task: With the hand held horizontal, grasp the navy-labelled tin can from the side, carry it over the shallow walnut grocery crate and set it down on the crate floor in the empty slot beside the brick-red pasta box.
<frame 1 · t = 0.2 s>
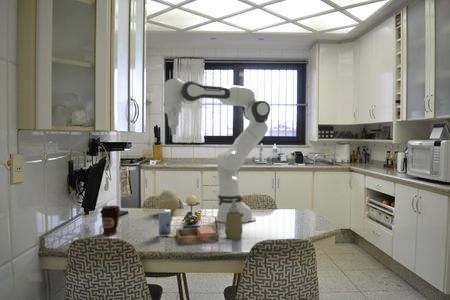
hand: (173, 135, 166), 48 cm above the table, tool pointing down, fingers open, 8 cm apart
coffee cup: (110, 234, 149), on the table
squeeze bottle: (233, 239, 142), on the table
pasta box: (205, 237, 141), point 1 cm above the table, touching crate
crate: (196, 239, 140), on the table
fossilized egg: (168, 214, 189), on the table
tin can: (164, 235, 146), on the table
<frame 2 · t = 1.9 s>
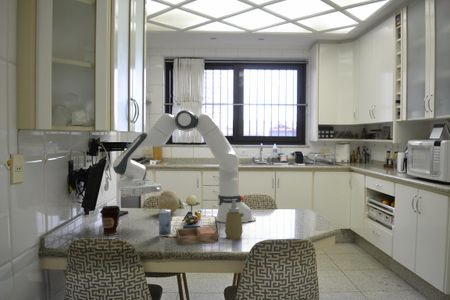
hand: (150, 191, 154), 20 cm above the table, tool horizontal, fingers open, 8 cm apart
nothing on the table moved.
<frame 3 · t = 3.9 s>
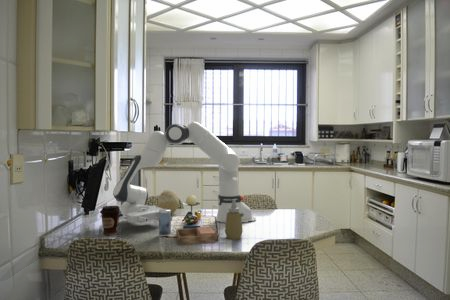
hand: (154, 218, 153), 6 cm above the table, tool horizontal, fingers open, 8 cm apart
nothing on the table moved.
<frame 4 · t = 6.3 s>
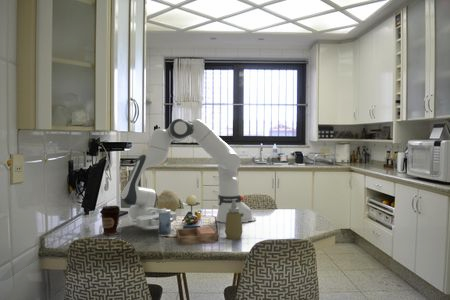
hand: (165, 221, 146), 7 cm above the table, tool horizontal, fingers closed on tin can, 5 cm apart
tin can: (164, 235, 146), on the table, touching gripper
everything else where it was.
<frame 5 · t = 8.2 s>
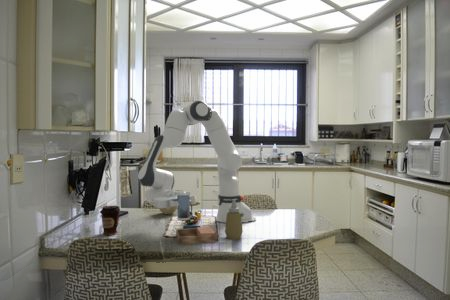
hand: (184, 203, 140), 17 cm above the table, tool horizontal, fingers closed on tin can, 5 cm apart
tin can: (183, 219, 140), point 9 cm above the table, touching gripper
everything else where it was.
when the fingers open (9 cm above the table, at t = 10.4 s): tin can stays where it is, resting on crate.
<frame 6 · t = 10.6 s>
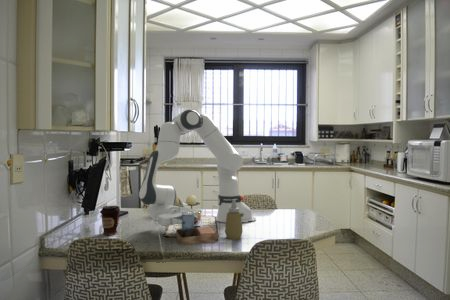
hand: (189, 220, 138), 9 cm above the table, tool horizontal, fingers open, 8 cm apart
tin can: (187, 238, 139), point 1 cm above the table, touching crate
everything else where it was.
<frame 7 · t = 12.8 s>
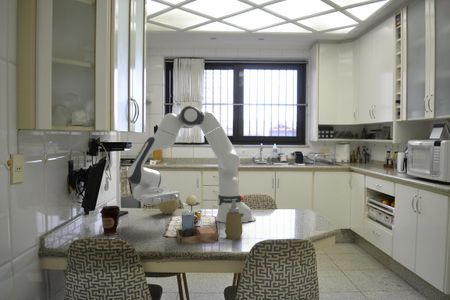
hand: (169, 199, 150), 16 cm above the table, tool horizontal, fingers open, 8 cm apart
nothing on the table moved.
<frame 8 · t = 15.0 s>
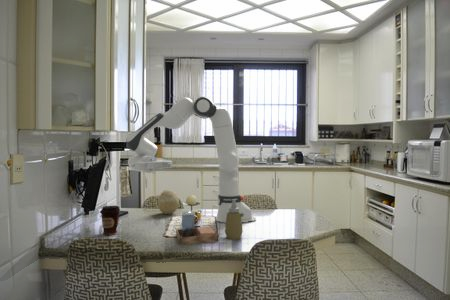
hand: (162, 165, 155), 32 cm above the table, tool horizontal, fingers open, 8 cm apart
nothing on the table moved.
at the end: tin can inside the target area on the crate (0.2 cm from its centre), point 0.8 cm above the crate's base; tin can tilted 1°; pasta box moved 0.0 cm from its start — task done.
